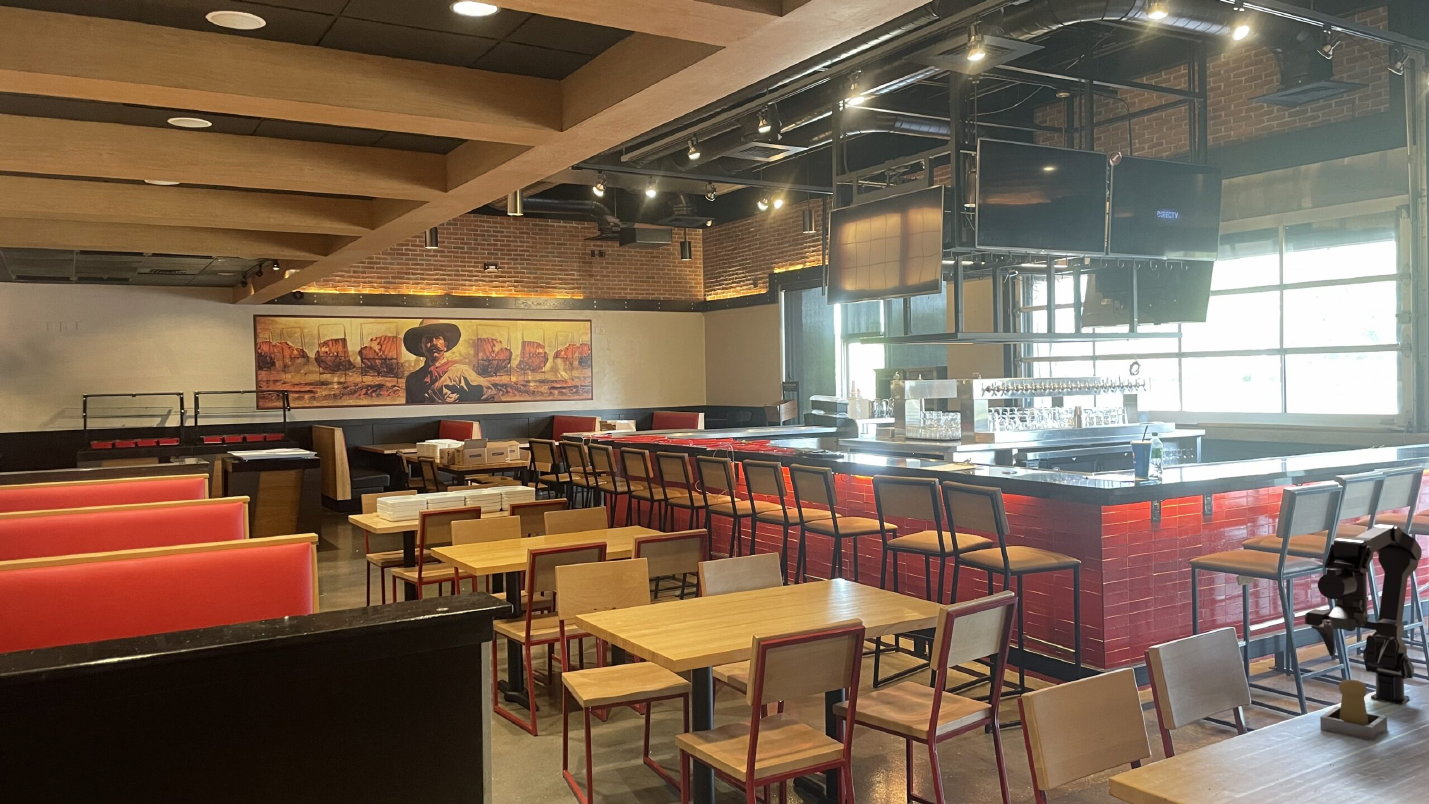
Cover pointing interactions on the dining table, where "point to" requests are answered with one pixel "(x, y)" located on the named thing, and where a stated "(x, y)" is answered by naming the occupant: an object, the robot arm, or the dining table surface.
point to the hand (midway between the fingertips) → (1353, 659)
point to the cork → (1353, 702)
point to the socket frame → (1353, 725)
